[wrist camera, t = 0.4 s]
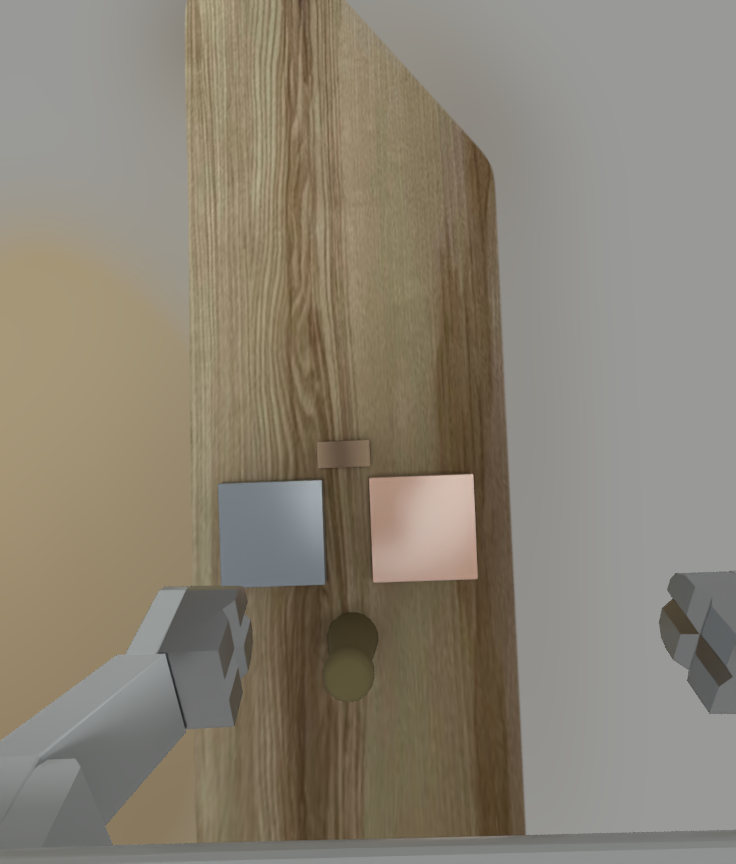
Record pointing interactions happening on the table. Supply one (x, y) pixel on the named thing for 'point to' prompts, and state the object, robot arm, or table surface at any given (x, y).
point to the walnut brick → (343, 454)
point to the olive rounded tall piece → (350, 657)
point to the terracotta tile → (423, 527)
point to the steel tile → (272, 533)
